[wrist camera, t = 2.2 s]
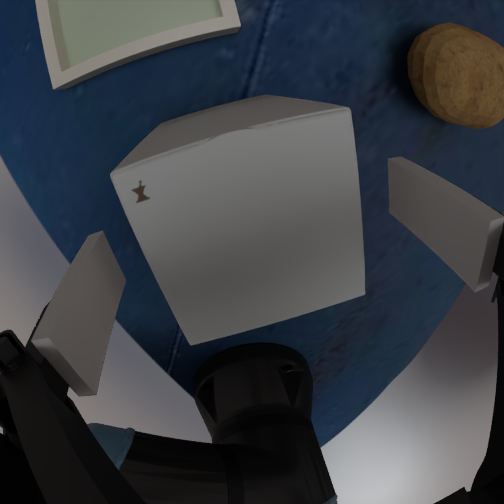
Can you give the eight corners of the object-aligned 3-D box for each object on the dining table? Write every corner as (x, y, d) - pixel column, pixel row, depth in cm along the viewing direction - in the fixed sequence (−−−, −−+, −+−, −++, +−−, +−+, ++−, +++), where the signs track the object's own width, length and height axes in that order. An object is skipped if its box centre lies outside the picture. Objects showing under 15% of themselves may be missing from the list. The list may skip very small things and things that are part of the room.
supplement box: (189, 222, 27) (184, 353, 14) (157, 122, 23) (98, 171, 10) (291, 193, 27) (369, 300, 14) (269, 92, 23) (355, 103, 10)
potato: (486, 116, 25) (539, 133, 18) (391, 126, 25) (447, 146, 18) (477, 33, 20) (532, 36, 13) (373, 23, 20) (430, 12, 13)
